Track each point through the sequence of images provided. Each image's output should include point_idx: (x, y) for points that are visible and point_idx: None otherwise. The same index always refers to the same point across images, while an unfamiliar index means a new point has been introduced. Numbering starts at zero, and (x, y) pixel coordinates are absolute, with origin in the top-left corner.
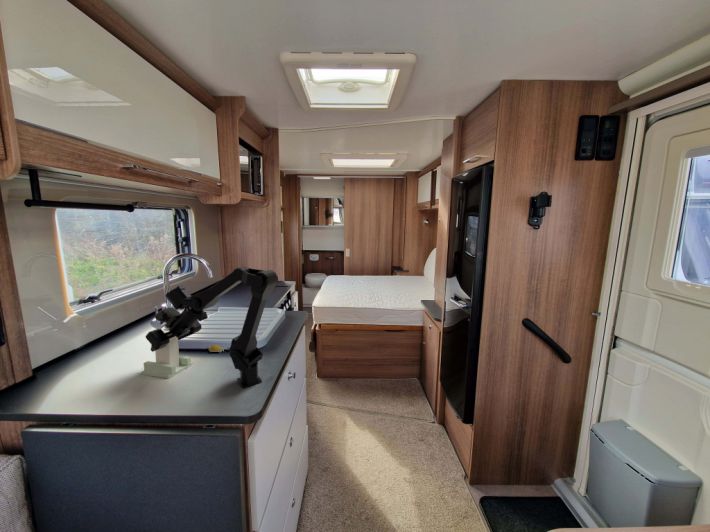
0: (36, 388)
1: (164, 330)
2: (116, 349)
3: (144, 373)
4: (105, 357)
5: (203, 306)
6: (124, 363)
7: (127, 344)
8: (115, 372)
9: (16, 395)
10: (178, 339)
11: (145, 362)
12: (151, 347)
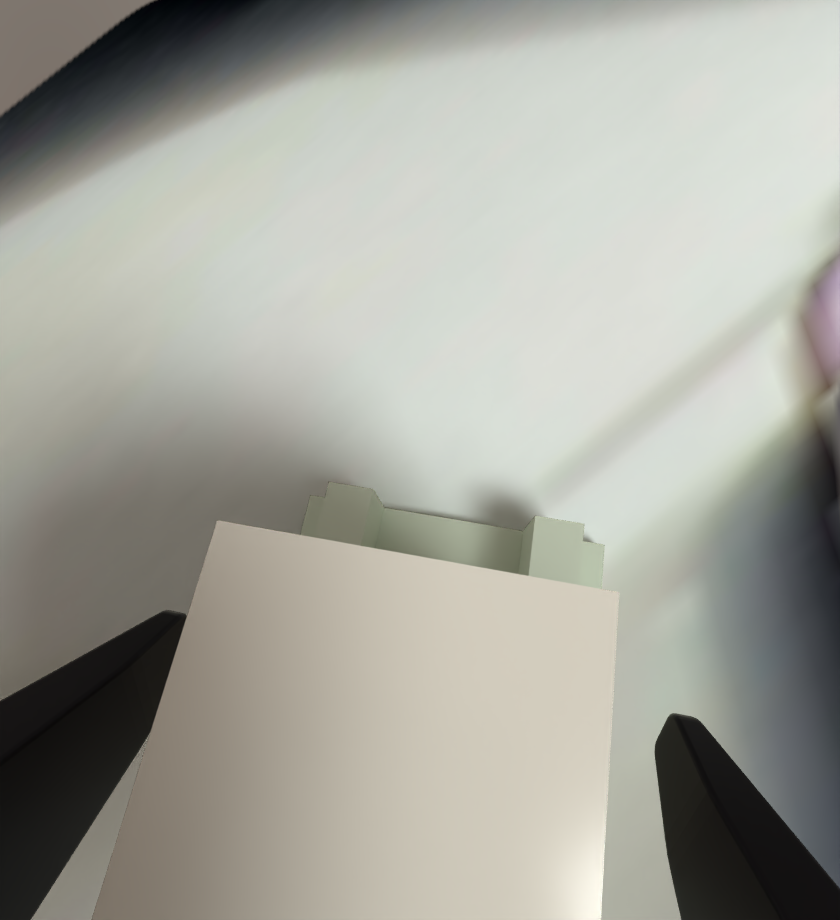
0: (161, 76)
1: (585, 644)
2: (686, 29)
3: None
4: (553, 67)
5: None
6: (484, 243)
7: (787, 24)
8: (342, 295)
9: (102, 62)
10: (685, 891)
11: (339, 492)
12: (86, 664)
